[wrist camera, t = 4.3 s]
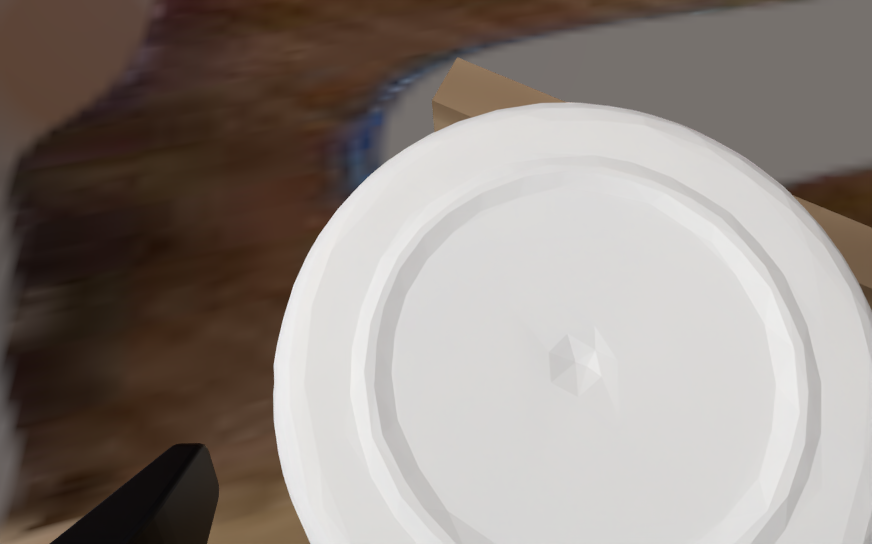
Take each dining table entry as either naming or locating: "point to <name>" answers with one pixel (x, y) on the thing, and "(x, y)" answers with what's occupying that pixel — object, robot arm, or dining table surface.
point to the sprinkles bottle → (575, 347)
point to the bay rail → (487, 91)
